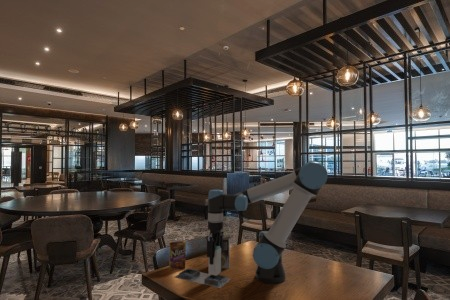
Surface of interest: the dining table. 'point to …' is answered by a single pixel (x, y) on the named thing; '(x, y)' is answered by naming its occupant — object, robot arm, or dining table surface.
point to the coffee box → (225, 253)
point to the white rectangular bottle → (216, 262)
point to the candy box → (177, 254)
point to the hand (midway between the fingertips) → (214, 268)
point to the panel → (203, 278)
